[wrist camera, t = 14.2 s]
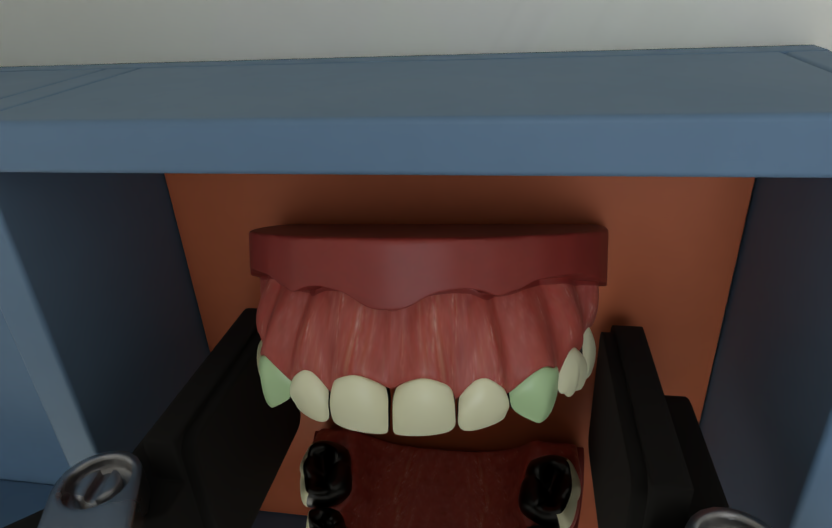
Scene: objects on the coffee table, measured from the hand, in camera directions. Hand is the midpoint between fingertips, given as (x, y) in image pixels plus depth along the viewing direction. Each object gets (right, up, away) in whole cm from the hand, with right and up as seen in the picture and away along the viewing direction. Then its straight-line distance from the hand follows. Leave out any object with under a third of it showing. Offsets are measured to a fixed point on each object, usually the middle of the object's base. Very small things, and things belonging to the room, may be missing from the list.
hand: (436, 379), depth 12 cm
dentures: (0, -5, +1) cm, 5 cm away
